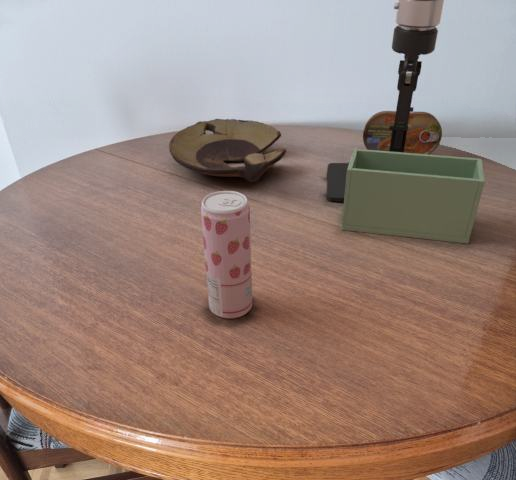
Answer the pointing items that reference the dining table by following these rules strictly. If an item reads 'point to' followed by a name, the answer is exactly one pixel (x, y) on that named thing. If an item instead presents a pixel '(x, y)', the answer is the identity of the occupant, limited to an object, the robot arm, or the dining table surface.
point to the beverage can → (227, 253)
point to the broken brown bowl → (226, 148)
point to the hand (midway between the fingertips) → (396, 154)
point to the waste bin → (412, 195)
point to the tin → (418, 133)
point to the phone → (336, 181)
